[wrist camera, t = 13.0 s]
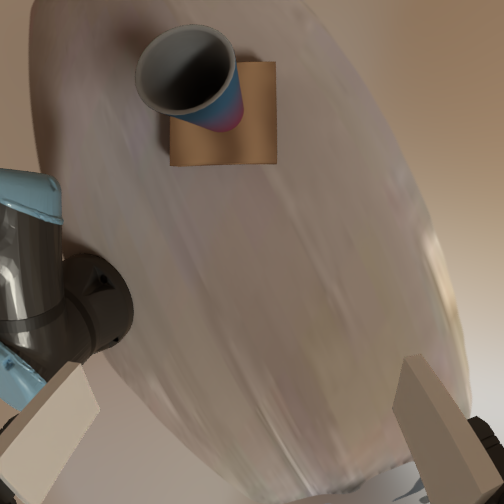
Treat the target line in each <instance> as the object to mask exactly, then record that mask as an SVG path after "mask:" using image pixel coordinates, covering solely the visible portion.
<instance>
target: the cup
mask: <svg viewBox="0 0 504 504" xmlns="http://www.w3.org/2000/svg"><path fill="white" fill-rule="evenodd" d="M135 83H136V88H137V91H138V94H139V96H140V97H141V99H142V100H143V102H144V103H145V104H146V105H147V106H149V107H150V108H152V109H153V110H155V111H157V112H160V113H163V114H166V115H169V116H172V117H175V118H177V119H180V120H183V121H186V122H189V123H192V124H195V125H197V126H200V127H203V128H206V129H208V130H211V131H214V132H227V131H229V130H232V129H233V128H235V127H236V126H237V125H238V124H239V123H240V121H241V119H242V117H243V114H244V107H243V100H242V94H241V88H240V82H239V76H238V70H237V64H236V59H235V53H234V50H233V47H232V45H231V43H230V42H229V40H228V39H227V38H226V37H225V36H224V35H223V34H222V33H220V32H219V31H217V30H215V29H213V28H211V27H208V26H204V25H195V24H190V25H182V26H179V27H175V28H172V29H170V30H168V31H166V32H164V33H162V34H161V35H159V36H158V37H156V38H155V39H154V40H153V41H152V42H151V43H150V44H149V45H148V46H147V47H146V49H145V50H144V51H143V53H142V55H141V57H140V59H139V60H138V64H137V67H136V72H135Z"/></svg>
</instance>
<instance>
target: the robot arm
mask: <svg viewBox="0 0 504 504" xmlns="http://www.w3.org/2000/svg"><path fill="white" fill-rule="evenodd" d="M62 224H63V218H62V205H61V187H60V184H59V182H58V181H57V180H56V179H55V178H54V177H53V176H51V175H47V174H42V173H36V172H28V171H20V170H12V169H3V168H0V398H1V399H2V400H3V401H5V402H6V403H7V404H9V405H10V406H12V407H13V408H15V409H17V410H19V411H21V412H20V413H19V414H17V415H16V416H14V417H12V418H11V419H9V420H8V422H7V423H6V424H5V425H4V426H3V429H1V430H0V504H17V503H16V500H15V499H14V498H13V497H14V496H15V495H16V496H17V497H18V498H19V499H20V500H21V501H22V502H23V503H25V504H42V502H43V500H44V499H45V497H46V495H47V494H48V492H49V490H50V489H51V487H52V485H53V484H54V482H55V480H56V479H57V477H58V475H59V474H60V472H61V471H62V469H63V467H64V466H65V464H66V463H67V461H68V459H69V458H70V456H71V454H72V453H73V451H74V450H75V448H76V447H77V445H78V443H79V442H80V440H81V439H82V437H83V436H84V434H85V432H86V431H87V430H88V428H89V427H90V425H91V423H92V422H93V420H94V419H95V417H96V416H97V414H98V413H99V411H100V408H99V406H98V403H97V401H96V399H95V397H94V395H93V392H92V390H91V388H90V385H89V383H88V381H87V378H86V376H85V374H84V371H83V368H82V365H83V364H84V363H85V362H86V361H87V359H88V358H89V357H90V356H91V355H92V354H95V353H98V352H100V351H103V350H105V349H108V348H110V347H113V346H114V345H116V344H117V343H119V342H120V341H121V340H122V339H123V337H124V336H125V335H126V334H127V333H128V331H129V330H130V328H131V325H132V322H133V315H134V310H133V302H132V298H131V294H130V292H129V289H128V287H127V285H126V283H125V282H124V280H123V278H122V277H121V276H120V274H119V273H118V272H117V271H116V270H115V269H114V268H113V267H112V266H111V265H110V264H109V263H107V262H106V261H105V260H103V259H101V258H99V257H97V256H94V255H91V254H77V255H74V256H72V257H70V258H68V259H66V260H64V261H62ZM392 409H393V412H394V414H395V416H396V419H397V421H398V423H399V425H400V428H401V430H402V432H403V435H404V437H405V440H406V442H407V444H408V447H409V449H410V452H411V454H412V457H413V459H414V461H415V464H416V466H417V469H418V471H419V474H420V477H421V479H422V482H423V484H424V487H425V490H426V492H427V495H428V498H429V501H430V503H431V504H504V448H503V446H502V444H500V441H499V440H498V438H497V437H496V436H495V435H494V432H493V431H492V429H491V428H490V426H489V425H488V424H487V423H486V422H485V421H483V420H482V419H480V418H479V417H477V416H475V417H473V418H470V419H468V420H466V418H465V417H464V415H463V413H462V412H461V410H460V409H459V407H458V406H457V404H456V403H455V401H454V400H453V398H452V397H451V396H450V394H449V393H448V391H447V390H446V388H445V387H444V385H443V384H442V383H441V381H440V380H439V378H438V377H437V375H436V374H435V373H434V371H433V370H432V368H431V367H430V366H429V364H428V363H427V361H426V360H425V359H424V357H423V356H422V355H421V354H418V355H413V356H408V357H404V359H403V364H402V369H401V374H400V378H399V383H398V387H397V391H396V395H395V399H394V403H393V407H392Z"/></svg>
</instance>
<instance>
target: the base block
mask: <svg viewBox="0 0 504 504" xmlns="http://www.w3.org/2000/svg"><path fill="white" fill-rule="evenodd" d="M236 64H237V70H238V76H239V82H240V88H241V94H242V100H243V107H244V114H243V117H242V119H241V121H240V123H239V124H238V125H237V126H236V127H235V128H233V129H232V130H229V131H227V132H214V131H211V130H208V129H206V128H203V127H200V126H197V125H195V124H192V123H189V122H186V121H183V120H180V119H177V118H175V117H172V116H170V166H178V167H182V166H203V165H235V164H277V108H276V62H237V63H236Z"/></svg>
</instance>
